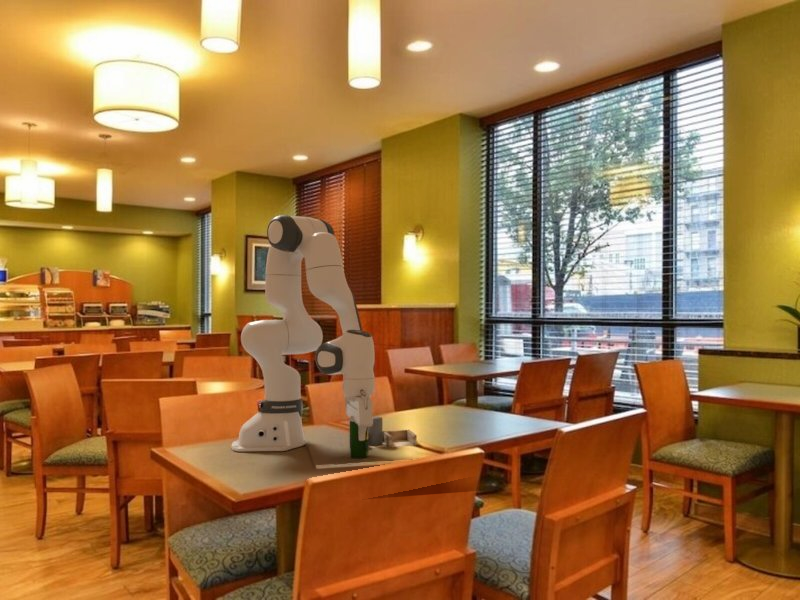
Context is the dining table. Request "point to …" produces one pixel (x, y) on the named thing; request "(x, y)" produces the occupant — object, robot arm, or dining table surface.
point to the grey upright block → (376, 432)
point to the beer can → (358, 442)
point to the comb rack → (398, 439)
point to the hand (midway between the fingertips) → (359, 437)
